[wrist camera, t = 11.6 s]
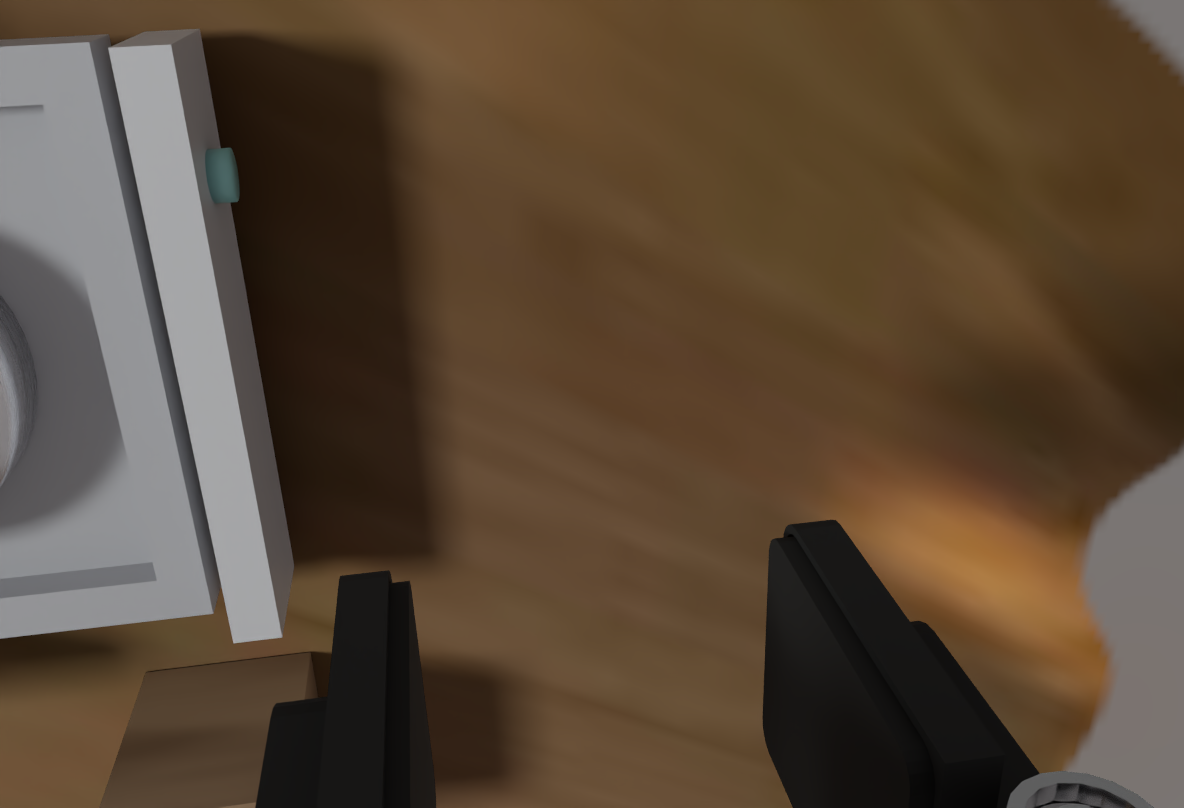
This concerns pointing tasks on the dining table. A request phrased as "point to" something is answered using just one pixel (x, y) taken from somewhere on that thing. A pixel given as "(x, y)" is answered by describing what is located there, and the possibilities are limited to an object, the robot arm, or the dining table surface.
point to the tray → (131, 348)
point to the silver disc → (15, 391)
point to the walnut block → (204, 733)
